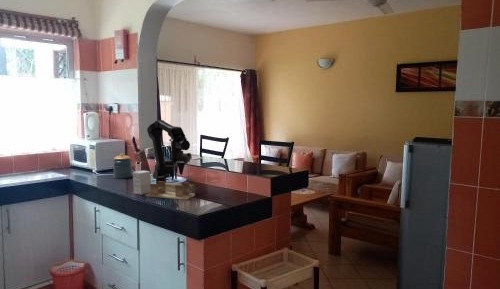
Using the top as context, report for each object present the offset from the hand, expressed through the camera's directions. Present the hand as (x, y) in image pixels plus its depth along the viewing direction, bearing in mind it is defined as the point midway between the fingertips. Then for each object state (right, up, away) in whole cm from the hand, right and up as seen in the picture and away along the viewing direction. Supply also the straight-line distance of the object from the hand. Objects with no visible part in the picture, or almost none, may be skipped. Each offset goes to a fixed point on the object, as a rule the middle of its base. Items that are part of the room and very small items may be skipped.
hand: (177, 175), depth 215 cm
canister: (-50, -6, +55) cm, 75 cm away
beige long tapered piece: (-3, -11, -7) cm, 13 cm away
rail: (0, -10, +1) cm, 10 cm away
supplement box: (-21, -10, +2) cm, 23 cm away
